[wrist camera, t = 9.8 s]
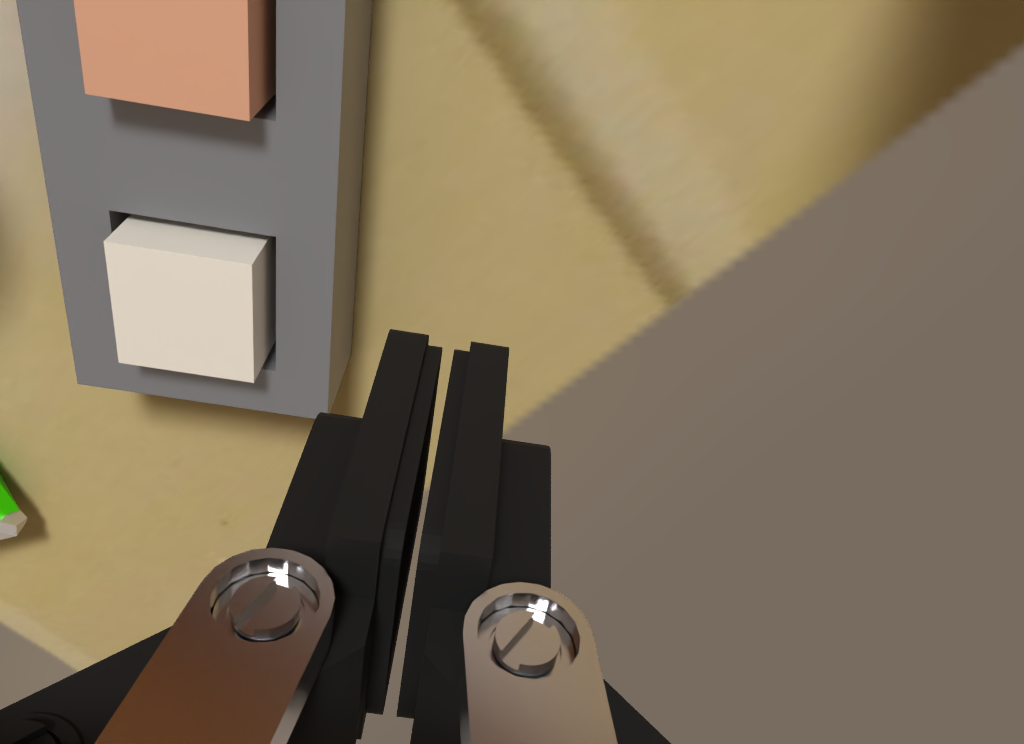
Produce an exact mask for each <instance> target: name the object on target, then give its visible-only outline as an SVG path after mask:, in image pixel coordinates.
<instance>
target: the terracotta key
mask: <svg viewBox="0 0 1024 744" xmlns="http://www.w3.org/2000/svg"><path fill="white" fill-rule="evenodd" d="M74 8H75V16H76V24H77V32H78V40H79V48H80V56H81V64H82V72H83V80H84V88H85V94H89V95H95V96H101V97H107V98H113V99H119V100H125V101H131V102H137V103H143V104H149V105H155V106H161V107H167V108H173V109H179V110H185V111H191V112H197V113H203V114H209V115H215V116H221V117H227V118H233V119H239V120H245V121H250V120H251V119H252V118H253V117H254V116H255V115H256V114H257V113H258V112H259V111H260V110H261V108H262V107H263V106H264V105H265V104H266V103H267V102H268V101H269V100H270V99H271V98H272V97H273V96H274V95H275V93H276V0H74Z"/></svg>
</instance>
